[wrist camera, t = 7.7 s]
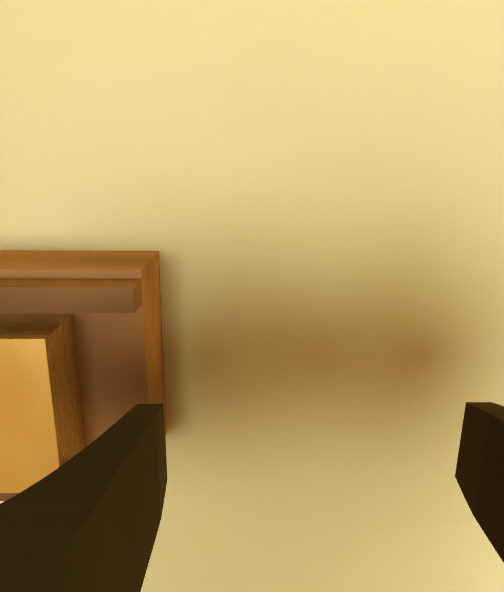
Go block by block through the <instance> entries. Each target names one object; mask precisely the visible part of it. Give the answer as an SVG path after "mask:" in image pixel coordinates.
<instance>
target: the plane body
mask: <svg viewBox="0 0 504 592" xmlns="http://www.w3.org/2000/svg"><path fill="white" fill-rule="evenodd" d="M0 314H73V322H74V333H75V343H76V354H77V364H78V374H79V385H80V395H81V406H82V416H83V426H84V437H85V447H87V446H88V445H89V444H91V443H92V442H93V441H94V440H96V439H97V438H98V437H99V436H100V435H102V434H103V433H104V432H105V431H106V430H108V429H109V428H110V427H111V426H112V425H113V424H115V423H116V422H117V421H118V420H119V419H120V418H121V417H123V416H124V415H125V414H126V413H127V412H128V411H130V410H131V409H132V408H133V407H134V406H136V405H137V404H164V420H165V436H166V416H165V393H164V370H163V347H162V324H161V301H160V278H159V255H158V251H0ZM17 494H19V493H0V501H7V500H8V499H10V498H12V497H14V496H15V495H17Z"/></svg>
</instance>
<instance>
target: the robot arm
mask: <svg viewBox="0 0 504 592" xmlns="http://www.w3.org/2000/svg"><path fill="white" fill-rule="evenodd" d="M455 477H456V479H457V482H458V484H459V486H460V488H461V490H462V493H463V495H464V497H465V499H466V501H467V503H468V505H469V507H470V509H471V511H472V513H473V515H474V517H475V519H476V520H477V522H478V523H479V525H480V527H481V528H482V530H483V531H484V533H485V534H486V536H487V537H488V539H489V541H490V542H491V544H492V545H493V547H494V548H495V550H496V551H497V553H498V554H499V556H500V558H501V559H502V561H503V562H504V407H503V406H501V405H498V404H495V403H492V402H466V406H465V413H464V420H463V427H462V433H461V440H460V447H459V454H458V460H457V467H456V474H455ZM166 483H167V464H166V442H165V420H164V404H137V405H136V406H134V407H133V408H132V409H131V410H130V411H128V412H127V413H126V414H125V415H124V416H123V417H121V418H120V419H119V420H118V421H117V422H116V423H115V424H113V425H112V426H111V427H110V428H109V429H108V430H106V431H105V432H104V433H103V434H102V435H100V436H99V437H98V438H97V439H96V440H94V441H93V442H92V443H91V444H89V445H88V446H87V447H86V448H84V449H83V450H82V451H80V452H79V453H78V454H76V455H75V456H74V457H72V458H71V459H70V460H68V461H67V462H66V463H64V464H63V465H61V466H60V467H59V468H57V469H56V470H55V471H53V472H52V473H50V474H49V475H47V476H46V477H44V478H43V479H41V480H40V481H38V482H37V483H35V484H33V485H32V486H30V487H28V488H27V489H25V490H23V491H22V492H20V493H19V494H17V495H15V496H14V497H12V498H10V499H8V500H7V501H5V502H3V503H1V504H0V592H140V591H141V587H142V584H143V580H144V577H145V574H146V570H147V567H148V563H149V560H150V556H151V553H152V549H153V545H154V542H155V538H156V535H157V531H158V528H159V524H160V520H161V515H162V509H163V503H164V497H165V490H166Z"/></svg>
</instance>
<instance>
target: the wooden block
mask: <svg viewBox="0 0 504 592" xmlns="http://www.w3.org/2000/svg"><path fill="white" fill-rule="evenodd" d="M84 448H86V447H85V437H84V426H83V416H82V406H81V395H80V385H79V374H78V364H77V354H76V343H75V333H74V322H73V314H0V493H20V492H22V491H23V490H25V489H27V488H28V487H30V486H32V485H33V484H35V483H37V482H38V481H40V480H41V479H43V478H44V477H46V476H47V475H49V474H50V473H52V472H53V471H55V470H56V469H57V468H59V467H60V466H61V465H63V464H64V463H66V462H67V461H68V460H70V459H71V458H72V457H74V456H75V455H76V454H78V453H79V452H80V451H82V450H83V449H84Z"/></svg>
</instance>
